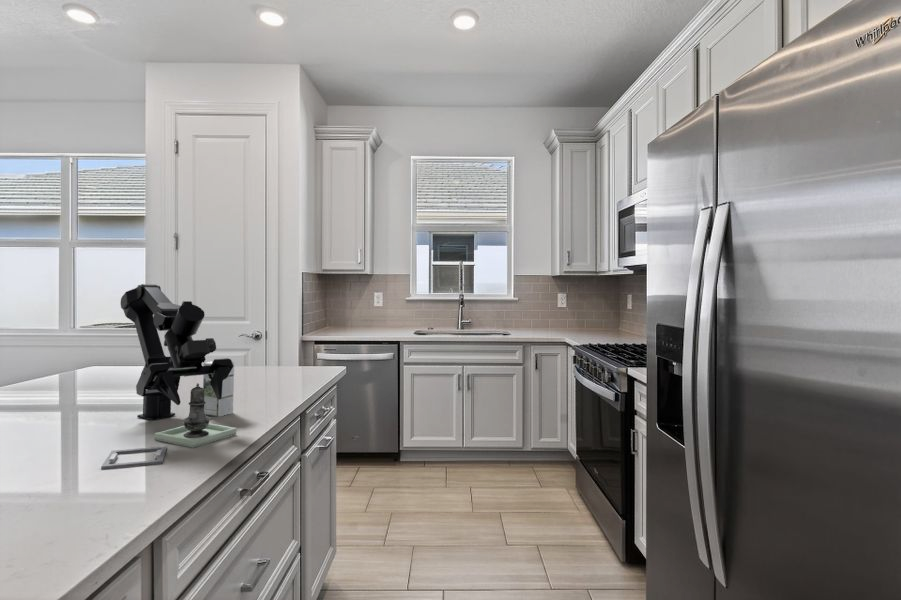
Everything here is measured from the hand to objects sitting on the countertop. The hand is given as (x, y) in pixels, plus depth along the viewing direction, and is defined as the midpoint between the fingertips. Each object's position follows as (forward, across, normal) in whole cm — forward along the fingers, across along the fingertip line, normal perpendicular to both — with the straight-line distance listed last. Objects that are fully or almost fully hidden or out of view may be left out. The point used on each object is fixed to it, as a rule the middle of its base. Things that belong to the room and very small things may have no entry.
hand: (200, 401), depth 115 cm
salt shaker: (+5, 0, +7) cm, 8 cm away
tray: (+5, 0, +7) cm, 9 cm away
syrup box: (-7, +13, +20) cm, 25 cm away
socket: (+10, -15, +2) cm, 18 cm away
